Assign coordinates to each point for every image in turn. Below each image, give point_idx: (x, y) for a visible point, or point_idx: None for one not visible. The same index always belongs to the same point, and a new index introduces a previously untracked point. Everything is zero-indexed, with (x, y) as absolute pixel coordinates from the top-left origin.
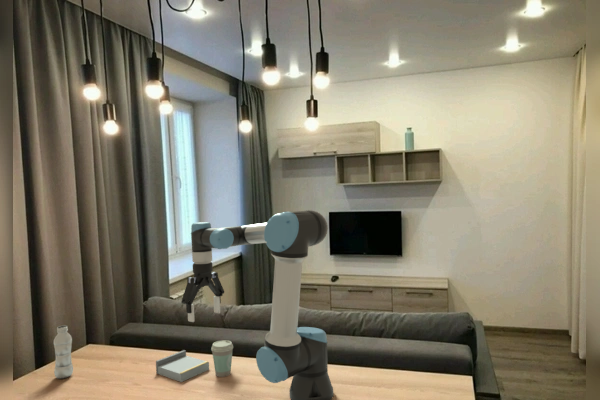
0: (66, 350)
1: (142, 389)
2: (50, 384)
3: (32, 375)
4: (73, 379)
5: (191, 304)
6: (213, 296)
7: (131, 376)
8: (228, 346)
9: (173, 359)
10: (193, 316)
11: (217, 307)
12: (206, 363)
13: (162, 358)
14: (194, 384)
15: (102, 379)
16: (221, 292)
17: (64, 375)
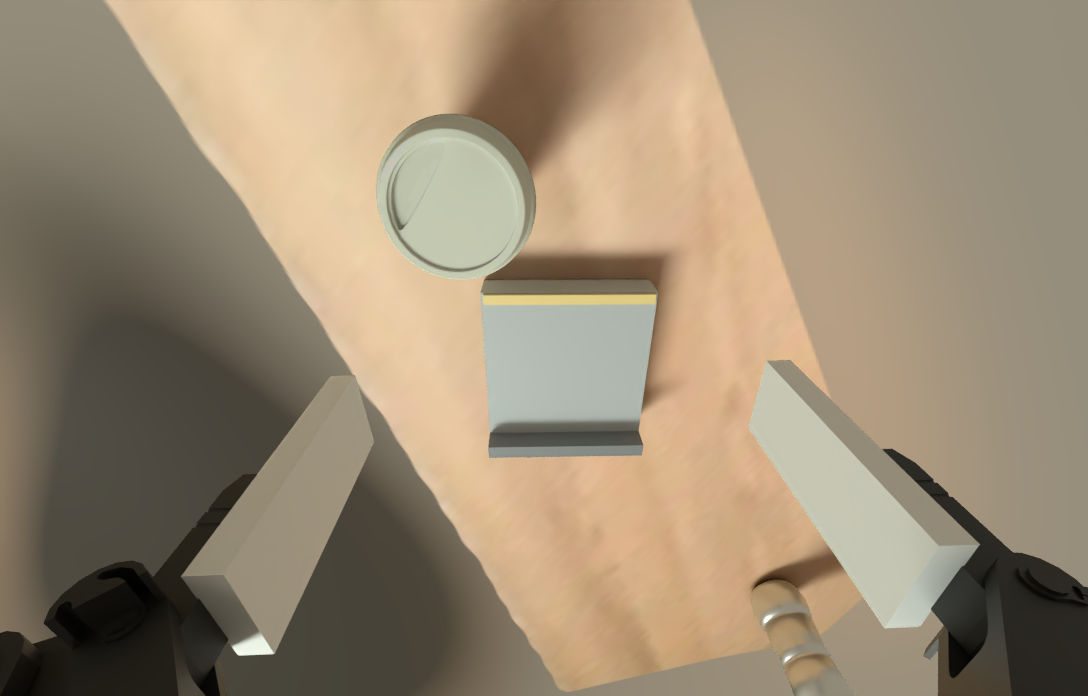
0: (824, 670)
1: (764, 351)
2: (820, 574)
3: None
4: (773, 561)
5: (963, 561)
6: (275, 650)
7: (689, 463)
8: (453, 126)
9: (559, 434)
10: (815, 398)
11: (332, 440)
12: (497, 292)
13: (608, 455)
14: (641, 207)
15: (744, 508)
16: (31, 679)
17: (790, 586)
